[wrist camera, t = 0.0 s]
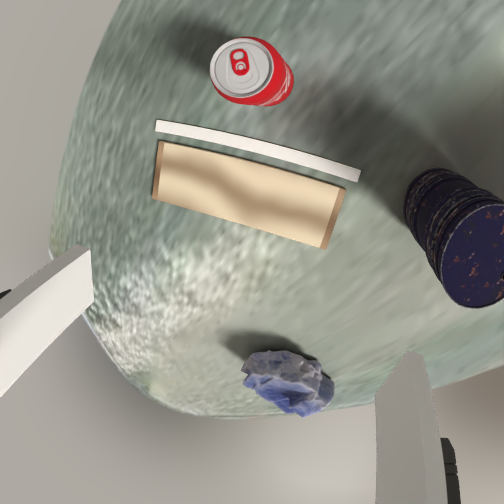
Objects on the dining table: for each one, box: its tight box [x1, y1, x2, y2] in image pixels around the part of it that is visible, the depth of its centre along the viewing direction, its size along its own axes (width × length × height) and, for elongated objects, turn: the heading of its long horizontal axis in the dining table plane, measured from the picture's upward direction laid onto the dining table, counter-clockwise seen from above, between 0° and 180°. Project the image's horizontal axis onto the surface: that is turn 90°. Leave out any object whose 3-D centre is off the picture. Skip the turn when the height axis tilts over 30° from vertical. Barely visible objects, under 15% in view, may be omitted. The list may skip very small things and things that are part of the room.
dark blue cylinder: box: [403, 168, 504, 309], centre depth 27 cm, size 10×10×15 cm
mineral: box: [241, 350, 334, 417], centre depth 46 cm, size 14×10×10 cm
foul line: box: [155, 120, 361, 182], centre depth 36 cm, size 2×26×1 cm, turn 78°
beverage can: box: [210, 37, 294, 106], centre depth 27 cm, size 6×6×12 cm
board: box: [152, 141, 346, 250], centre depth 38 cm, size 8×24×1 cm, turn 78°
